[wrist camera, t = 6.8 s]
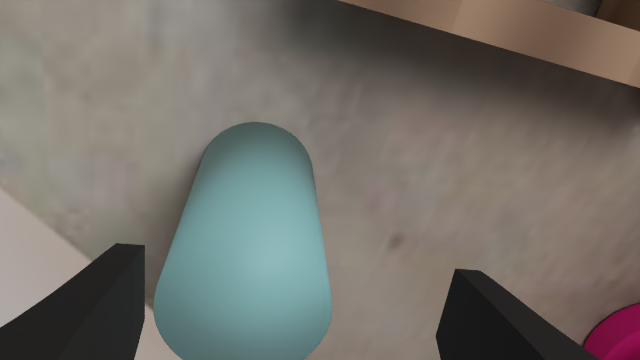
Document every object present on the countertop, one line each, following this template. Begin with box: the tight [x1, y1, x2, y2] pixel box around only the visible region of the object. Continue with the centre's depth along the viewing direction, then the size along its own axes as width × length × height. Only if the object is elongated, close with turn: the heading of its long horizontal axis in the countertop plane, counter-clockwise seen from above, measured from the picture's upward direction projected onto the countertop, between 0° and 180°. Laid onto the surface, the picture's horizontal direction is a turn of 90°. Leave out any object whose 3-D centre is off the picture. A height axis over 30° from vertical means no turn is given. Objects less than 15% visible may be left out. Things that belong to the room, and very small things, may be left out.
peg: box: [153, 122, 332, 360], centre depth 18 cm, size 5×5×9 cm
